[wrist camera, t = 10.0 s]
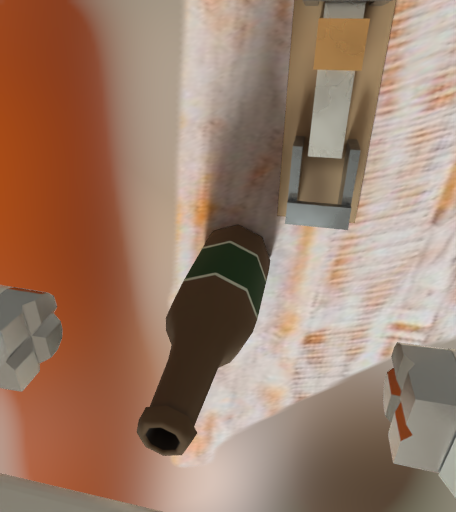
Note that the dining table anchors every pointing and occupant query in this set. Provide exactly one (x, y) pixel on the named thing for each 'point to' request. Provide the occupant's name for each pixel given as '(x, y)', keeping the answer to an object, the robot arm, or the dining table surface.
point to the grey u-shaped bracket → (322, 212)
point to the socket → (374, 0)
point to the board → (302, 100)
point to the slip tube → (336, 74)
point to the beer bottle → (205, 333)
